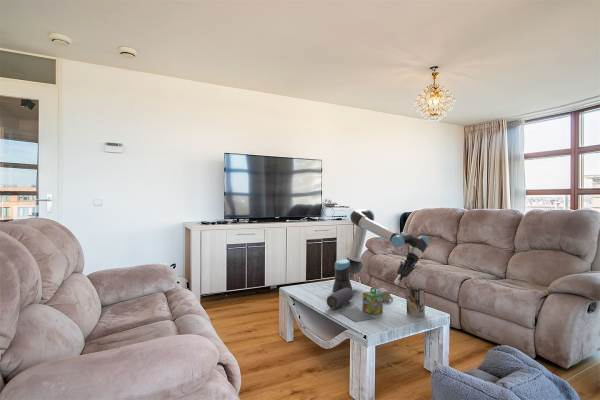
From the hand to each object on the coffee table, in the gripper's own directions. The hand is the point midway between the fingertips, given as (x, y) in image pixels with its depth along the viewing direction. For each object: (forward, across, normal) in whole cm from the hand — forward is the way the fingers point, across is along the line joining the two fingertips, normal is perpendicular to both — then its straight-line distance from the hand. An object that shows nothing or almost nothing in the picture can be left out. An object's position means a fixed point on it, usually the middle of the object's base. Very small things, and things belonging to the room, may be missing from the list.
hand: (395, 283), depth 207 cm
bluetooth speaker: (+32, +21, +10) cm, 39 cm away
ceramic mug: (+7, +17, -15) cm, 24 cm away
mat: (+33, +2, +11) cm, 34 cm away
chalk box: (+24, +2, +1) cm, 24 cm away
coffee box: (+10, -15, -13) cm, 22 cm away
